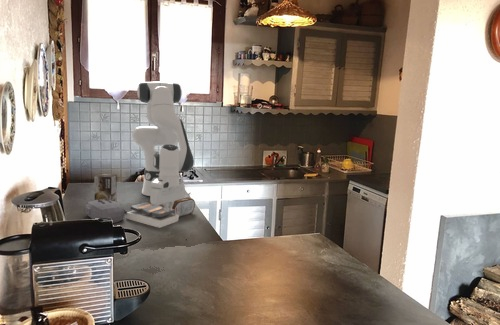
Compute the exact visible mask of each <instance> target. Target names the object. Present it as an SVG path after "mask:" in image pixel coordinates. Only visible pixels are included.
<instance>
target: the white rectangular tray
mask: <svg viewBox="0 0 500 325" xmlns="http://www.w3.org/2000/svg"><path fill="white" fill-rule="evenodd" d="M124 211H125V214H126V219H127V220H131V221H134V222H137V223H141V224H144V225H148V226H152V227H155V228H158V229H160V228H164V227H166V226H168V225H171V224H174V223H177V222H179V218H180V217H179V215H178V214H174V213H172V214H169V215H166V216H163V217H157V216H152V215H147V214H145V213H143V212H136V211H134V210H130V211H129V210H125V209H124Z"/></svg>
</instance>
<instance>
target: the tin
mask: <svg viewBox="0 0 500 325" xmlns="http://www.w3.org/2000/svg"><path fill="white" fill-rule="evenodd" d="M195 207H196V201H195V200H194V199H193V198H191V197H189V196H187V197H184V198H183V199H180V200H176V201H174V204H173V206H172V209H175V213H174V214H178V215H179V218H180V217H184V216H188V215H191V214H192V213H193V212H194V211H195Z"/></svg>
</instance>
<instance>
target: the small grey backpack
mask: <svg viewBox="0 0 500 325" xmlns="http://www.w3.org/2000/svg"><path fill="white" fill-rule="evenodd" d="M84 210H85V213H86V216H88V217H89V218H90V219H91V220H92V219H95V218H108V217H111V218H112V220H113V223H114V224H115V223H119V222H121V221H122V220H123V219H124V218H125V214H126V213H125V211H124V210H125V209H124V207H123V206H122V205H121V203H119V202H117V201H116V202H115V201H111V200H107V199H101V200H95V199H94V200H90V201H88V202H86V204H85V206H84ZM113 223H112V224H113Z"/></svg>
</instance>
